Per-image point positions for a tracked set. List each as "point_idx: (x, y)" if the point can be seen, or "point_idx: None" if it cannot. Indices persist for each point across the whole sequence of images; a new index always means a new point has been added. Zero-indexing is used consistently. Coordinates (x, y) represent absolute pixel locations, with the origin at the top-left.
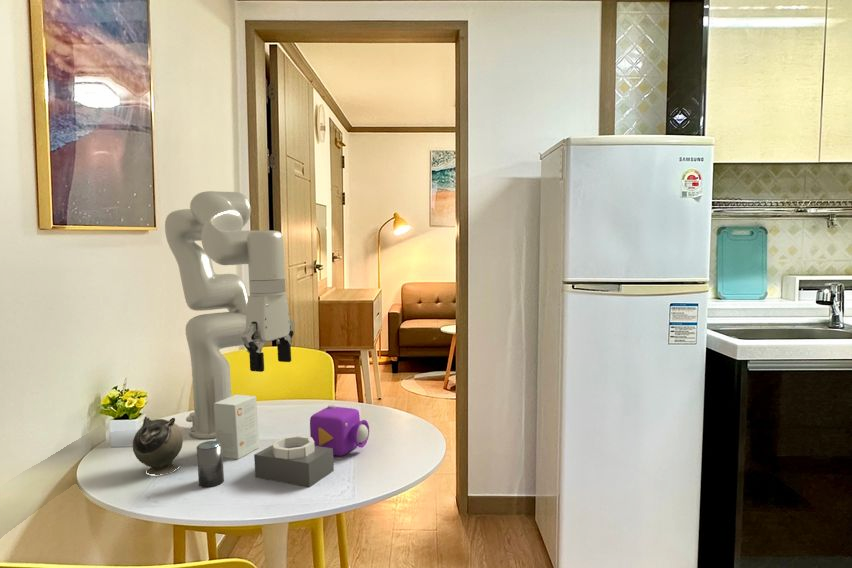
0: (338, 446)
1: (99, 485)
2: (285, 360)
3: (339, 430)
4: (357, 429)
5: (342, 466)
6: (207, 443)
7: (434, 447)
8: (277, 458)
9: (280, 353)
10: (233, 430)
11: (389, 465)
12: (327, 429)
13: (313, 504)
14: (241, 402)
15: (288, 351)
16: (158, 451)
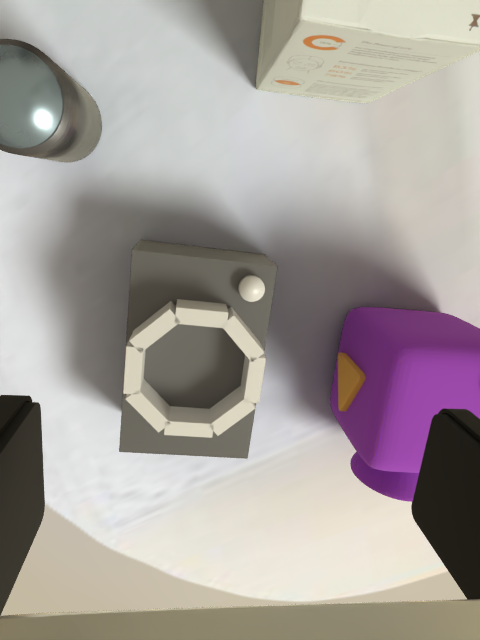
0: (335, 412)
1: None
2: (423, 487)
3: (353, 443)
4: (371, 488)
5: (271, 429)
6: (19, 81)
7: (425, 571)
8: (126, 345)
9: (473, 485)
10: (273, 45)
11: (300, 525)
12: (358, 403)
13: (46, 468)
14: (361, 27)
15: (465, 591)
16: None
